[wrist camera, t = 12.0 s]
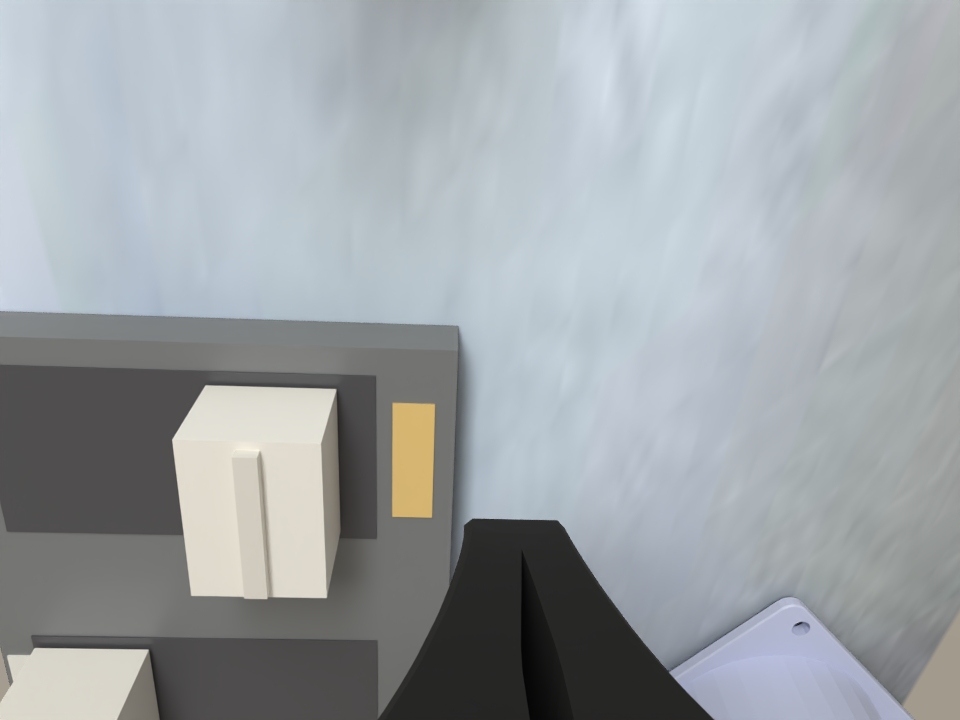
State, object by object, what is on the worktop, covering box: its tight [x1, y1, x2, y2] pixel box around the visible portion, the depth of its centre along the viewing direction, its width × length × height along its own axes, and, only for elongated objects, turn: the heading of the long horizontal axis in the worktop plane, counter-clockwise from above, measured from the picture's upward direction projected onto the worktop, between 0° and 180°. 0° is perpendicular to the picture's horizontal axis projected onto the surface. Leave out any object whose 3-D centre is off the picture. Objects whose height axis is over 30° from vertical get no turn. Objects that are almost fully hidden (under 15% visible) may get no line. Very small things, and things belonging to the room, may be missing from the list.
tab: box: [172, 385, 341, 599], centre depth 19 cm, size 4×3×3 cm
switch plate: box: [0, 311, 458, 720], centre depth 24 cm, size 22×12×2 cm, turn 177°
